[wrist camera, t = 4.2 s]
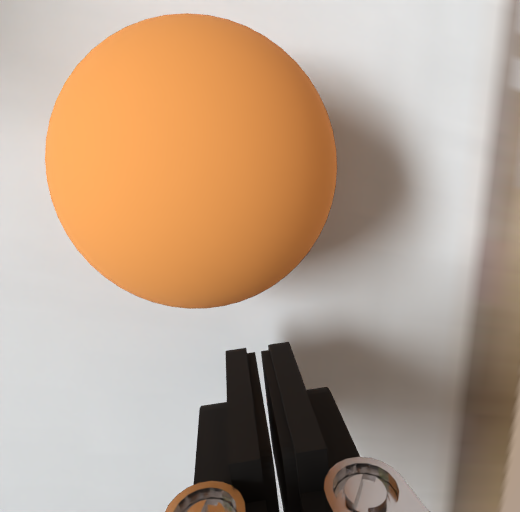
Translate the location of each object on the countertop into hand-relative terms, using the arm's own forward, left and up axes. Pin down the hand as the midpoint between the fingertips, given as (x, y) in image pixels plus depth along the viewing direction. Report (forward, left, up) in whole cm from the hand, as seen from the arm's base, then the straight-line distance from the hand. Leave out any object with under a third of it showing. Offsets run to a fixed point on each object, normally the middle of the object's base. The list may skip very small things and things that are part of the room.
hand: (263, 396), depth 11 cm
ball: (+3, +5, +1) cm, 6 cm away
